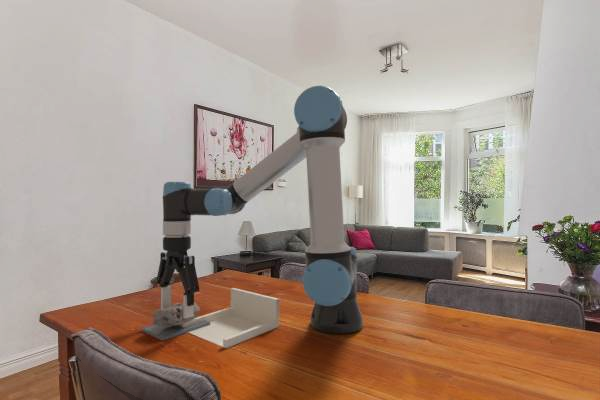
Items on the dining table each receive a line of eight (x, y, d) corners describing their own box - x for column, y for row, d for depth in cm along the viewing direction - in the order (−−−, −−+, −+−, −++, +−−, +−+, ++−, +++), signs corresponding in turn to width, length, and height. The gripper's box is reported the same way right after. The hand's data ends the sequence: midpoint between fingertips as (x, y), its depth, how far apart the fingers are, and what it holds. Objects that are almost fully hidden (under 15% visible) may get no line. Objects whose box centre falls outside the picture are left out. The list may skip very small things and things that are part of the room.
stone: (179, 302, 108) (205, 299, 104) (180, 321, 107) (205, 320, 103) (144, 306, 96) (171, 304, 92) (144, 328, 95) (172, 327, 91)
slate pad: (210, 324, 102) (210, 322, 102) (162, 340, 90) (162, 337, 90) (188, 316, 109) (188, 314, 109) (141, 330, 97) (141, 327, 97)
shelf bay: (279, 327, 101) (279, 298, 101) (226, 349, 86) (226, 315, 86) (233, 313, 113) (233, 287, 113) (180, 330, 98) (180, 301, 98)
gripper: (213, 237, 95) (212, 318, 95) (167, 232, 110) (167, 302, 110) (188, 239, 89) (188, 325, 89) (144, 234, 104) (143, 308, 104)
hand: (176, 312), depth 99 cm, fingers open, 11 cm apart
